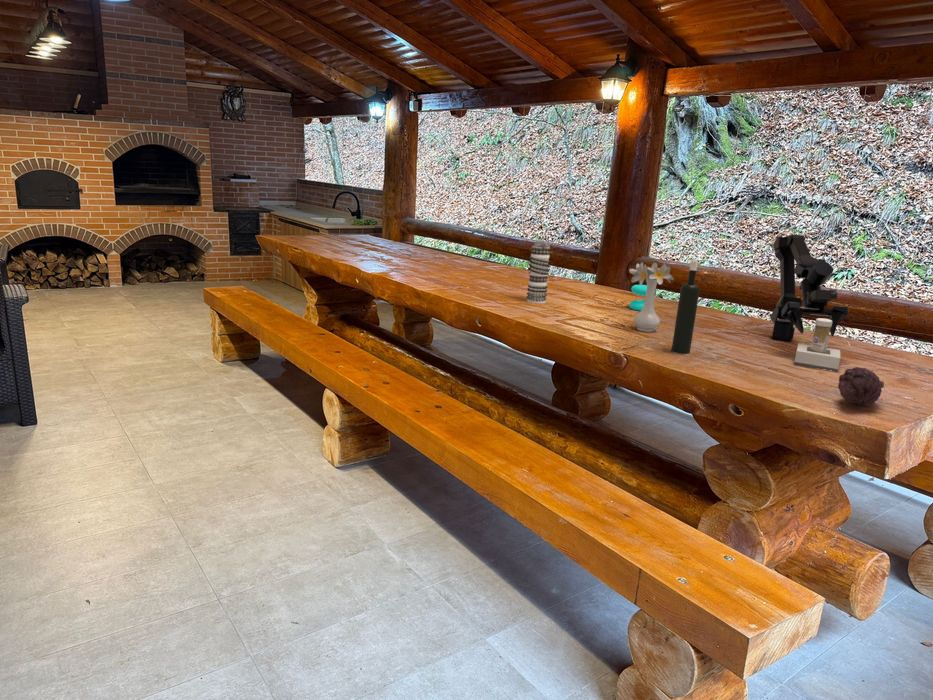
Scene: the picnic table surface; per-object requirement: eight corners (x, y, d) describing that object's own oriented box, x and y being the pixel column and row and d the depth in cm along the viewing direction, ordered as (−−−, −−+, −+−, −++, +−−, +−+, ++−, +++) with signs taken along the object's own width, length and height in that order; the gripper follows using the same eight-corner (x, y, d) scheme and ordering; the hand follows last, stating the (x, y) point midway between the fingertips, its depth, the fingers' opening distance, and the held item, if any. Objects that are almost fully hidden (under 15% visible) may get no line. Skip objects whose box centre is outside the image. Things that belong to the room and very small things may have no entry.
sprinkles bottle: (805, 360, 204) (813, 318, 200) (812, 358, 207) (820, 317, 203) (820, 363, 200) (828, 321, 197) (827, 361, 203) (835, 320, 200)
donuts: (635, 283, 279) (658, 286, 275) (632, 305, 282) (655, 309, 277) (628, 286, 271) (652, 289, 266) (626, 309, 274) (649, 312, 269)
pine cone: (863, 418, 157) (872, 379, 154) (820, 405, 164) (828, 368, 161) (887, 404, 168) (896, 368, 165) (846, 393, 175) (854, 358, 173)
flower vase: (637, 322, 248) (646, 258, 242) (675, 334, 233) (685, 265, 227) (612, 325, 241) (620, 258, 235) (649, 337, 226) (659, 266, 220)
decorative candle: (523, 299, 282) (527, 241, 276) (543, 299, 284) (548, 242, 277) (528, 303, 274) (533, 244, 267) (549, 303, 275) (555, 245, 269)
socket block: (793, 364, 201) (796, 351, 200) (795, 356, 211) (798, 343, 210) (837, 372, 196) (840, 358, 195) (837, 363, 206) (840, 349, 205)
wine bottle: (691, 351, 211) (705, 259, 203) (687, 354, 206) (702, 261, 198) (673, 348, 213) (687, 257, 205) (669, 351, 209) (683, 259, 201)
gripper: (791, 277, 206) (796, 318, 198) (853, 281, 204) (860, 323, 196) (778, 296, 216) (783, 336, 208) (837, 301, 213) (844, 341, 206)
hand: (817, 334), depth 204 cm, fingers open, 9 cm apart
